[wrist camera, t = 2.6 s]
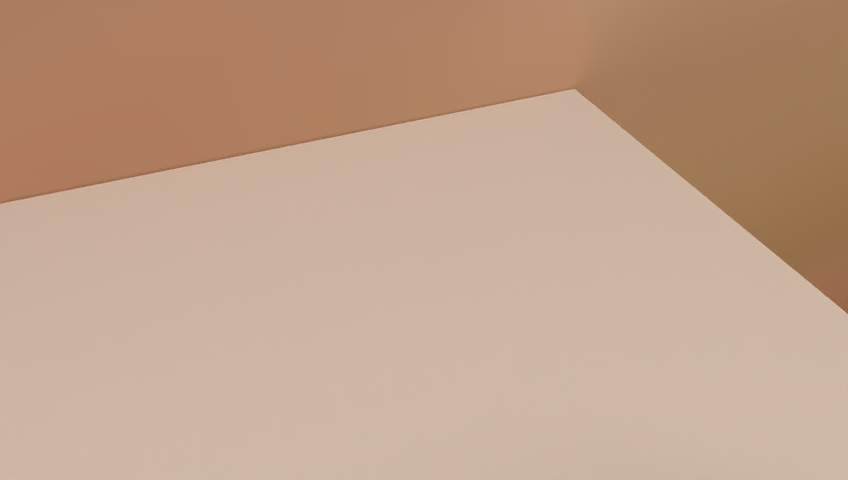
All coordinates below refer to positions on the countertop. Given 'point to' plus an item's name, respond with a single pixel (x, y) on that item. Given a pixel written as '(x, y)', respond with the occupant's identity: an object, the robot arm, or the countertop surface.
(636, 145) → the beige block
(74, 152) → the countertop surface
